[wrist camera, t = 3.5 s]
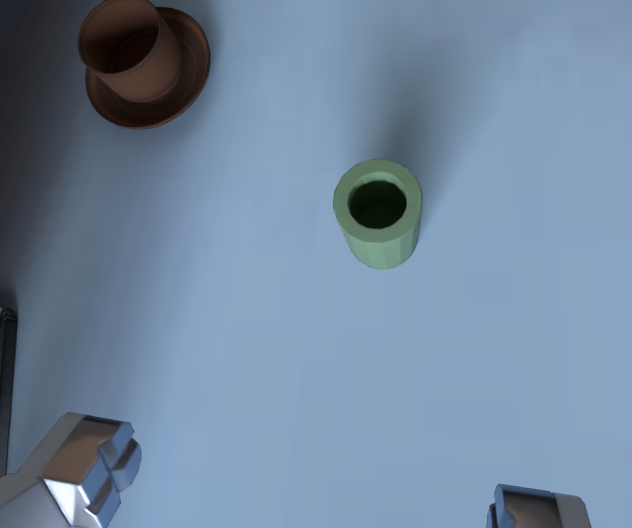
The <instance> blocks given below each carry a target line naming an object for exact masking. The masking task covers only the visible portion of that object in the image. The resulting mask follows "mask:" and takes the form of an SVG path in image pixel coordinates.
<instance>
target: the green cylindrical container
mask: <svg viewBox="0 0 632 528" xmlns="http://www.w3.org/2000/svg"><path fill="white" fill-rule="evenodd" d="M422 196H423V195H422V191H421V188H420V186H419V183H418V180H417V179H416V177H415V176H414V175H413V174H412V173H411V172H410V171H409V170H408V169H407V168H406V167H405V166H403V165H401V164H398V163H396V162H394V161H391V160H386V159H371V160H368V161H365V162H362V163H359V164H356V165H355V166H354V167H352V168H351V169H350V170H349V171H348V172H347V173H345V174H344V175H343V176H342V178H341V180H340V181H339V183H338V185H337V187H336V189H335V191H334V201H333V209H334V212H335V215H336V218H337V221H338V224H339V226H340V228H341V230H342V232H343V235H344V237H345V239H346V241H347V243H348V245H349V248H350V250H351V252H352V253H353V254H354V256H355V257H356V258H357V259H358V260H359V261H360V262H361V263H363V264H364V265H366V266H368V267H371V268H375V269H390V268H394V267H396V266H398V265H400V264H402V263H403V262H405V261H406V260H407V259H408V258H409V257H410V256H411V254H412V253H413V251H414V249H415V247H416V244H417V241H418V233H419V226H420V218H421V210H422Z"/></svg>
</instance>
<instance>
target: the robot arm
mask: <svg viewBox="0 0 632 528" xmlns="http://www.w3.org/2000/svg"><path fill="white" fill-rule="evenodd" d="M133 433H134V429H133V427H132V425H131V423H130V422H124V421H119V420H113V419H107V418H101V417H95V416H91V415H86V414H79V413H73V412H68V413H66V414H65V415H63V416H62V417H61V418H60V419H59V420H58V421H57V422H56V424H55V425H54V426H53V427H52V429H51V430H50V431H49V432H48V434H47V435H46V436H45V437H44V439H43V440H42V441H41V442H40V444H39V445H38V446H37V447H36V449H35V450H34V451H33V452H32V454H31V455H30V456H29V457H28V458H27V460H26V461H25V462H24V463H23V465H22V466H21V467H20V468H19V470H18V471H17V472H16V473H15V474H12V473H9V474H7V475H5V476H4V477H2V478H0V528H70V526H74V527H80V528H107V527H108V525H109V523H110V521H111V520H112V518H113V516H114V514H115V513H116V511H117V509H118V507H119V506H120V504H121V499H120V492H122V491H123V490H124V489H126V488H127V487H129V486H130V485H131V484H132V482H133V481H134V479H135V477H136V475H137V473H138V470H139V467H140V463H141V448H140V445H139V443H138V442H136V441H135V440H134V439H133V438H132V437H131V436H132V435H133ZM494 497H495V503H494V504H492V505H490V507H489V511H488V514H487V524H486V528H592V527H591V524H590V520H589V517H588V513H587V510H586V506H585V504H584V502H583V501H582V499H581V498H580V497H578V496H573V495H567V494H560V493H554V492H550V491H545V490H538V489H531V488H525V487H518V486H511V485H505V484H498V485H497V486H496V489H495V492H494Z"/></svg>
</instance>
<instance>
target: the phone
mask: <svg viewBox="0 0 632 528" xmlns="http://www.w3.org/2000/svg"><path fill="white" fill-rule="evenodd" d="M16 327H17V316H16V313H15V312H14V311H13V310H12V309H10V308H2V307H0V478H2V477H4V476H5V472H6V459H7V446H8V432H9V419H10V406H11V393H12V380H13V367H14V354H15V340H16Z"/></svg>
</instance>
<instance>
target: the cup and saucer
mask: <svg viewBox="0 0 632 528" xmlns="http://www.w3.org/2000/svg"><path fill="white" fill-rule="evenodd" d="M78 52H79V55H80V58H81V60H82V61H83V63H84V64H85V65H86V66H87V68H86V77H85V82H86V90H87V94H88V97H89V100H90V102H91V104H92V106H93V107H94V108H95V110H96V111H97V112H98V113H99V114H100V115H101V116H102V117H103V118H105V119H106V120H108V121H109V122H111V123H113V124H116V125H118V126H121V127H125V128H130V129H147V128H152V127H156V126H159V125H162V124H165V123H167V122H169V121H171V120H173V119H174V118H176V117H177V116H179V115H180V114H182V113H183V112H184V111H185V110H186V109H187V108H188V107H189V106H190V105H191V104H192V103H193V102H194V101H195V100H196V98H197V97H198V96H199V94H200V92H201V91H202V89H203V87H204V85H205V82H206V80H207V77H208V73H209V69H210V49H209V44H208V41H207V38H206V35H205V33H204V31H203V29H202V28H201V26H200V25H199V24H198V23H197V22H196V21H195V20H194V19H193V18H192V17H191V16H189V15H188V14H186V13H184V12H182V11H180V10H177V9H173V8H168V7H155V6H154V5H153V4H152V3H151V2H150V1H148V0H105V1H104V2H102V3H100V4H99V5H98V6H96V7H95V8H94V9H93V10H92V11H91V12H90V13H89V15H88V16H87V17H86V19H85V20H84V22H83V24H82V26H81V28H80V31H79V35H78Z"/></svg>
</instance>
